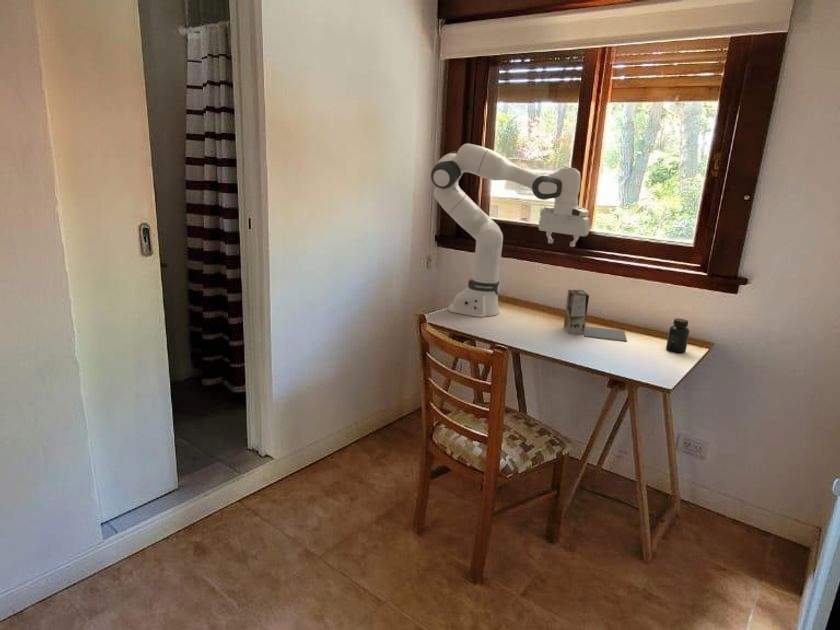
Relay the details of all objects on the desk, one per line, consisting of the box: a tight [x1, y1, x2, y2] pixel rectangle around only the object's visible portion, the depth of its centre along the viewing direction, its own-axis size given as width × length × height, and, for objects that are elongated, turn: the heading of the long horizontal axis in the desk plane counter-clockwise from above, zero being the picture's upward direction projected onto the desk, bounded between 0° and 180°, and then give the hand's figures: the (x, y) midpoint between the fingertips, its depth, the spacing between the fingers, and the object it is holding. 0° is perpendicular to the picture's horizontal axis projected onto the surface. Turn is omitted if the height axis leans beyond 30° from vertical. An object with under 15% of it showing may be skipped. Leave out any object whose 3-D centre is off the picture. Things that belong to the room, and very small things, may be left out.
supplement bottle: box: [665, 318, 690, 355], centre depth 203 cm, size 7×7×12 cm
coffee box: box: [563, 289, 590, 335], centre depth 221 cm, size 9×6×16 cm
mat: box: [583, 325, 628, 343], centre depth 220 cm, size 16×13×1 cm
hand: (561, 244), depth 219 cm, fingers open, 8 cm apart
